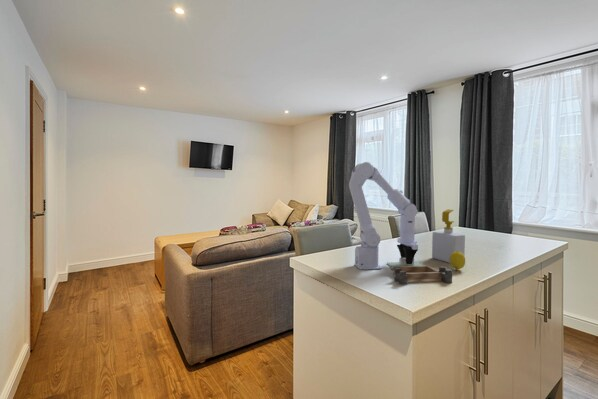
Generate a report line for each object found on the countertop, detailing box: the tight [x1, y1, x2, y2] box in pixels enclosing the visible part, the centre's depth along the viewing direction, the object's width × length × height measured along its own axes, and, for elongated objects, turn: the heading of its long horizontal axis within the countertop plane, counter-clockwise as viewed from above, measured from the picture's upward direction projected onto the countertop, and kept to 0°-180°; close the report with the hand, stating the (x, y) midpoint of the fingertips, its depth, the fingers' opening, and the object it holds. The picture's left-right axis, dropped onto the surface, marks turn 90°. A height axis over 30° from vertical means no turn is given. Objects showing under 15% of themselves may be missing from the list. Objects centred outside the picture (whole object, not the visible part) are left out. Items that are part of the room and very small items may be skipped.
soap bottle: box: [431, 209, 466, 264], centre depth 128 cm, size 12×7×23 cm, turn 23°
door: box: [386, 257, 425, 272], centre depth 119 cm, size 17×10×4 cm, turn 95°
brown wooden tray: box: [393, 265, 453, 286], centre depth 104 cm, size 19×11×4 cm, turn 95°
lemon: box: [449, 251, 466, 271], centre depth 114 cm, size 6×6×8 cm
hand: (406, 262), depth 119 cm, fingers open, 4 cm apart
